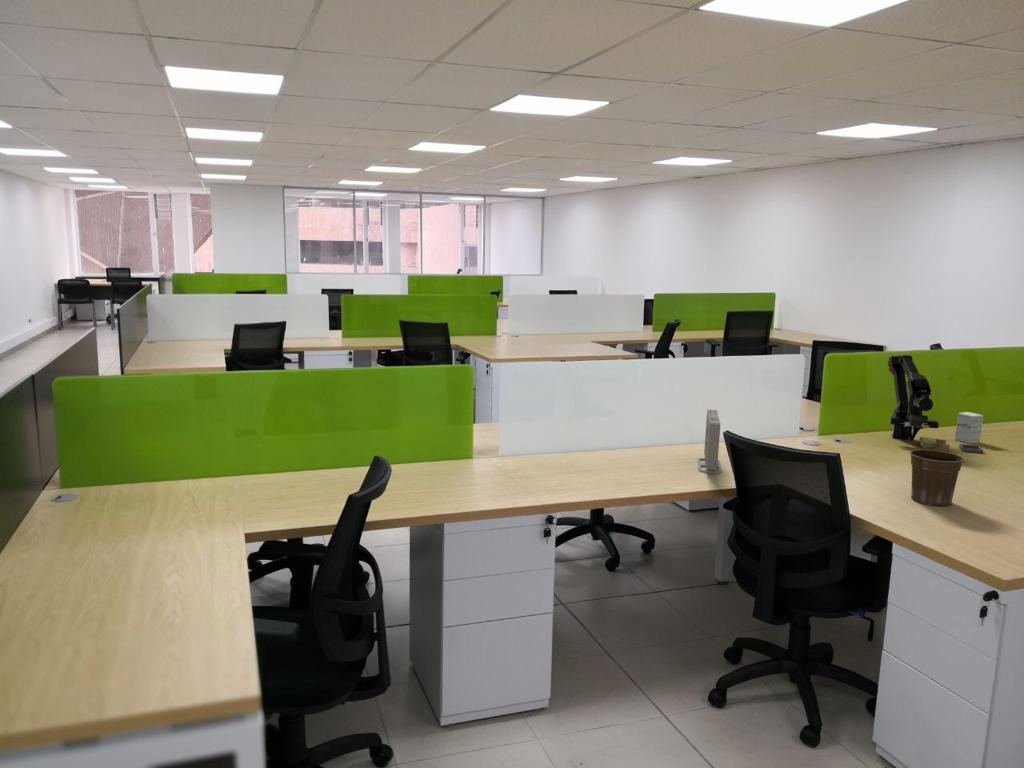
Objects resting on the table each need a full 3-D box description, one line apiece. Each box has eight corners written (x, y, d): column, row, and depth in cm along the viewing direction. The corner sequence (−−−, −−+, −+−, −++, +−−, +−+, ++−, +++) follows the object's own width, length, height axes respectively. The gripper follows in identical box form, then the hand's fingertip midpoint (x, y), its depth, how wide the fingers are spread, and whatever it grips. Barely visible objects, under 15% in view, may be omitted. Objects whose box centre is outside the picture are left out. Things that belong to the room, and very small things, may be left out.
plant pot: (910, 490, 277) (916, 446, 274) (962, 500, 267) (968, 454, 264) (899, 501, 265) (904, 455, 262) (952, 512, 254) (958, 464, 252)
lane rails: (922, 448, 336) (923, 442, 335) (919, 442, 346) (919, 437, 346) (949, 451, 332) (949, 445, 332) (944, 445, 343) (945, 439, 342)
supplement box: (954, 440, 352) (957, 412, 350) (964, 438, 355) (968, 411, 353) (969, 443, 346) (973, 416, 344) (980, 442, 349) (984, 414, 347)
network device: (723, 476, 288) (726, 423, 285) (698, 474, 290) (702, 422, 287) (719, 458, 313) (722, 409, 310) (696, 456, 315) (700, 408, 311)
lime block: (922, 447, 339) (923, 439, 338) (920, 444, 343) (921, 436, 343) (935, 448, 337) (936, 440, 337) (932, 445, 342) (933, 437, 341)
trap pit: (962, 451, 332) (962, 448, 332) (958, 447, 339) (959, 443, 339) (982, 453, 330) (983, 450, 329) (979, 449, 337) (979, 445, 337)
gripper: (893, 407, 335) (889, 443, 338) (942, 412, 329) (938, 447, 331) (891, 403, 345) (887, 437, 348) (938, 407, 339) (934, 441, 342)
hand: (911, 441), depth 342 cm, fingers closed
